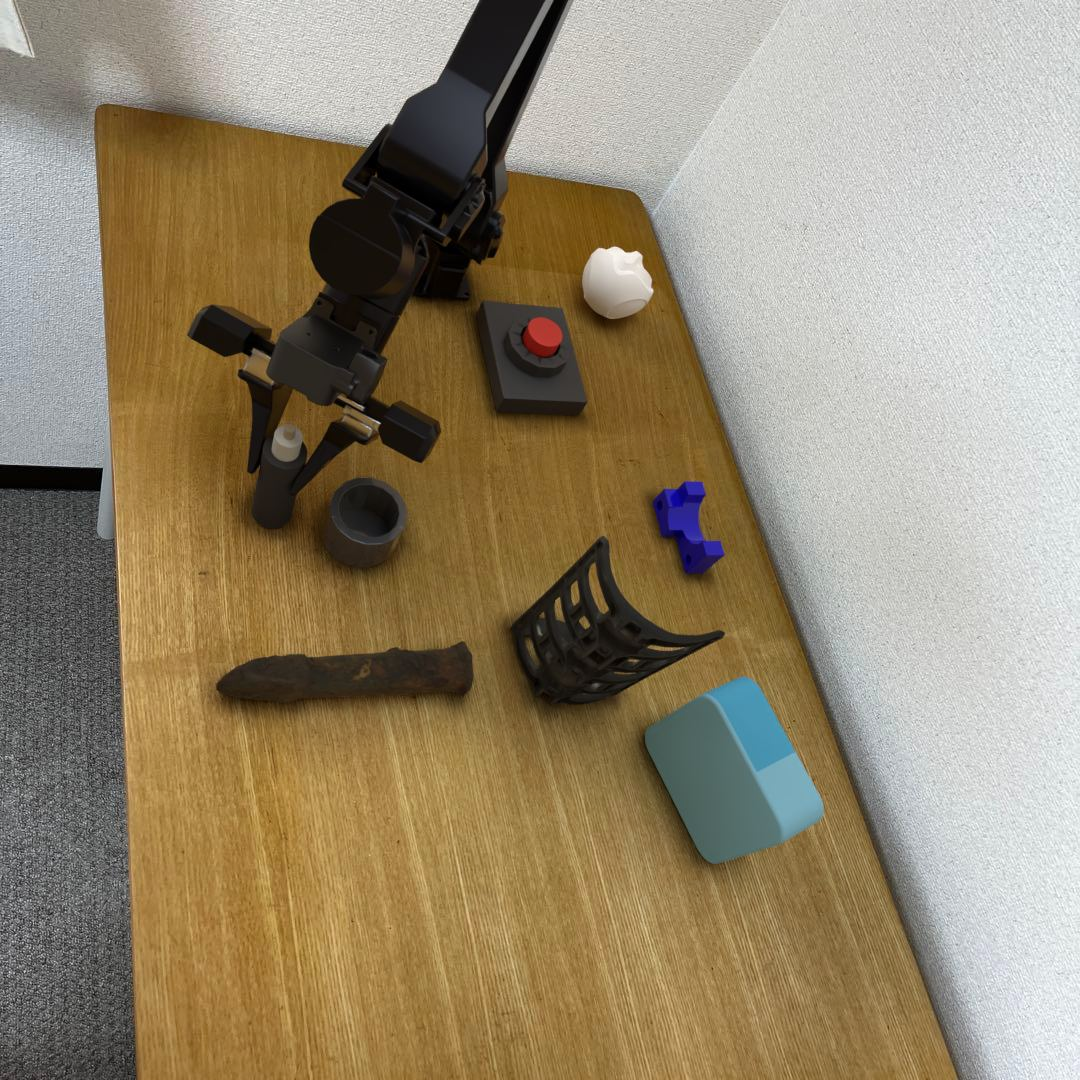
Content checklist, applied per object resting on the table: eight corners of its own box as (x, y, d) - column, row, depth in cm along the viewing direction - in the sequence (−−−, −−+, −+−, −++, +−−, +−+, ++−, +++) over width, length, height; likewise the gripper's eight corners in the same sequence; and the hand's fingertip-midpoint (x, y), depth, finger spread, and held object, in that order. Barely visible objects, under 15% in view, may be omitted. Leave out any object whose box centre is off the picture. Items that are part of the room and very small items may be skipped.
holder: (630, 656, 80) (743, 580, 62) (604, 734, 76) (716, 676, 59) (519, 603, 79) (603, 509, 61) (488, 679, 75) (567, 603, 58)
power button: (519, 327, 89) (525, 315, 88) (552, 329, 90) (558, 318, 89) (526, 356, 88) (532, 345, 86) (559, 358, 89) (566, 347, 88)
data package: (745, 845, 76) (833, 816, 66) (705, 868, 73) (790, 842, 64) (677, 715, 79) (751, 669, 69) (638, 733, 77) (708, 688, 67)
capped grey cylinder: (250, 495, 74) (265, 408, 64) (290, 495, 76) (311, 410, 65) (252, 529, 73) (268, 446, 63) (293, 528, 74) (315, 447, 64)
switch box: (475, 315, 93) (487, 289, 89) (554, 322, 96) (568, 297, 93) (496, 412, 88) (509, 388, 84) (578, 415, 91) (594, 392, 88)
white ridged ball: (645, 313, 102) (678, 265, 96) (612, 345, 98) (644, 297, 91) (592, 268, 102) (621, 217, 96) (556, 298, 98) (584, 247, 92)
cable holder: (652, 501, 90) (671, 481, 86) (682, 501, 91) (702, 481, 88) (672, 574, 86) (693, 555, 83) (703, 573, 88) (724, 554, 84)
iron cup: (318, 503, 76) (326, 476, 73) (390, 503, 79) (401, 477, 75) (325, 569, 74) (334, 545, 70) (399, 567, 76) (411, 543, 73)
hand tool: (459, 654, 74) (475, 633, 71) (464, 700, 73) (481, 681, 69) (216, 657, 67) (220, 634, 64) (216, 709, 66) (219, 688, 62)
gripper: (208, 216, 56) (108, 433, 59) (470, 364, 58) (361, 567, 61) (260, 237, 67) (174, 420, 70) (480, 361, 69) (387, 534, 72)
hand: (271, 483), depth 68 cm, fingers closed on capped grey cylinder, 3 cm apart
